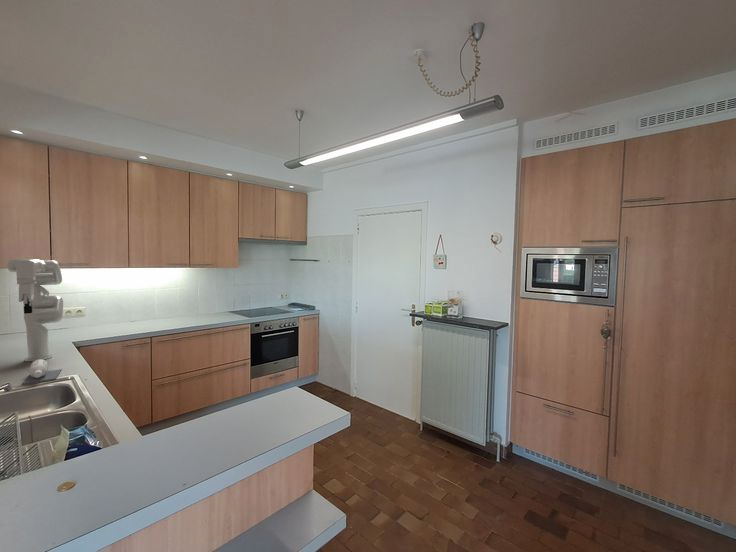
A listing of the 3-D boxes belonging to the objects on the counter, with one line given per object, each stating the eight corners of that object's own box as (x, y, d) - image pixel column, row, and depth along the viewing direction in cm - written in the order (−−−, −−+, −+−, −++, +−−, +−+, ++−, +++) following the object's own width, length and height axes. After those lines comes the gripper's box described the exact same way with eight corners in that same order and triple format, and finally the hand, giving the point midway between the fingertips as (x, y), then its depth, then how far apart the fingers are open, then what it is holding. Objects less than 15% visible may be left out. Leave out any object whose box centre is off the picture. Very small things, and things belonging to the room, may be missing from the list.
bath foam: (28, 371, 182) (26, 381, 168) (32, 358, 183) (30, 367, 168) (45, 371, 187) (44, 381, 172) (49, 359, 188) (49, 368, 173)
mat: (30, 374, 182) (30, 373, 182) (61, 370, 189) (61, 369, 189) (21, 384, 168) (21, 383, 168) (55, 379, 175) (55, 378, 175)
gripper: (20, 280, 193) (22, 311, 195) (13, 282, 181) (15, 316, 183) (38, 279, 198) (40, 310, 199) (32, 282, 186) (34, 314, 187)
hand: (28, 313), depth 191 cm, fingers closed
